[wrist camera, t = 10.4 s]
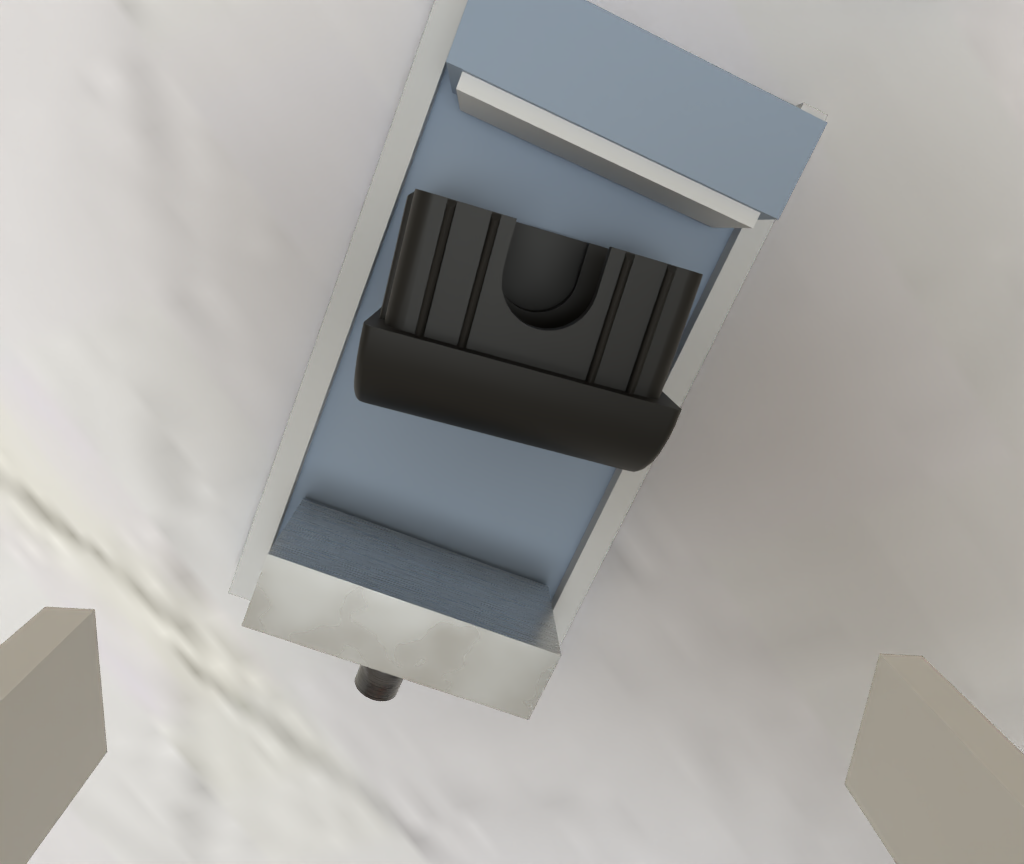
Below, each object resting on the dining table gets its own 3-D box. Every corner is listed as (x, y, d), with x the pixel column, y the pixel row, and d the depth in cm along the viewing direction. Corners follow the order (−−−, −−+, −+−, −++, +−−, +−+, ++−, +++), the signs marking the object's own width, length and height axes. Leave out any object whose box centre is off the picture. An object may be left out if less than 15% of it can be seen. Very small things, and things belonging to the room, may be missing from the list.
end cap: (373, 374, 27) (339, 422, 21) (415, 192, 25) (393, 181, 19) (612, 438, 28) (651, 501, 22) (670, 267, 27) (731, 282, 20)
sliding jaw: (548, 586, 30) (561, 655, 25) (499, 687, 31) (502, 770, 27) (303, 497, 28) (267, 553, 24) (262, 608, 30) (221, 682, 25)
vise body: (802, 122, 26) (896, 93, 20) (531, 668, 33) (542, 766, 27) (461, -49, 24) (455, -137, 18) (243, 570, 31) (187, 653, 25)
